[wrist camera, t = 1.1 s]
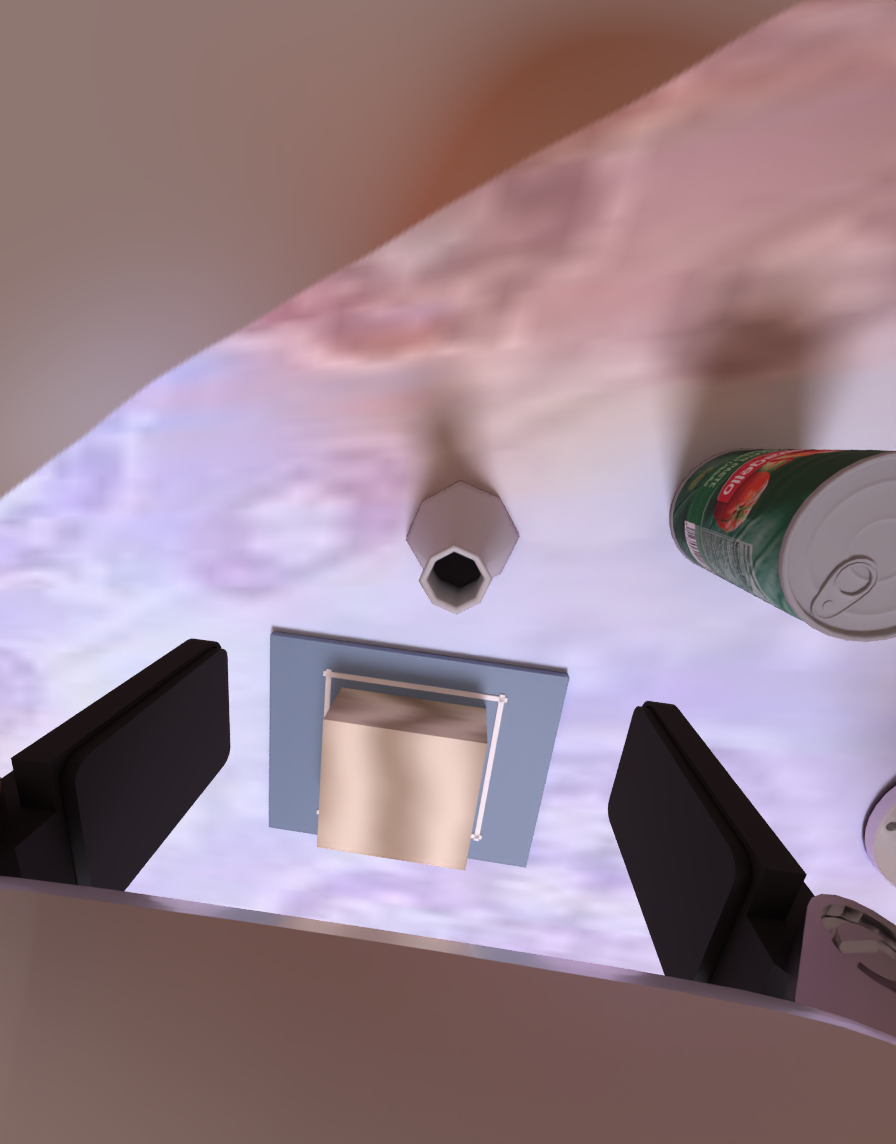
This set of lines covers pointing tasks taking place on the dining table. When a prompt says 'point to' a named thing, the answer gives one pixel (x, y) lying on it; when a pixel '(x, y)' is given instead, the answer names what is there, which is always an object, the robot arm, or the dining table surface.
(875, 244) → the dining table surface
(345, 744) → the birch plinth
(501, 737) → the board
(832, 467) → the canned tomato
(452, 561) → the flask
